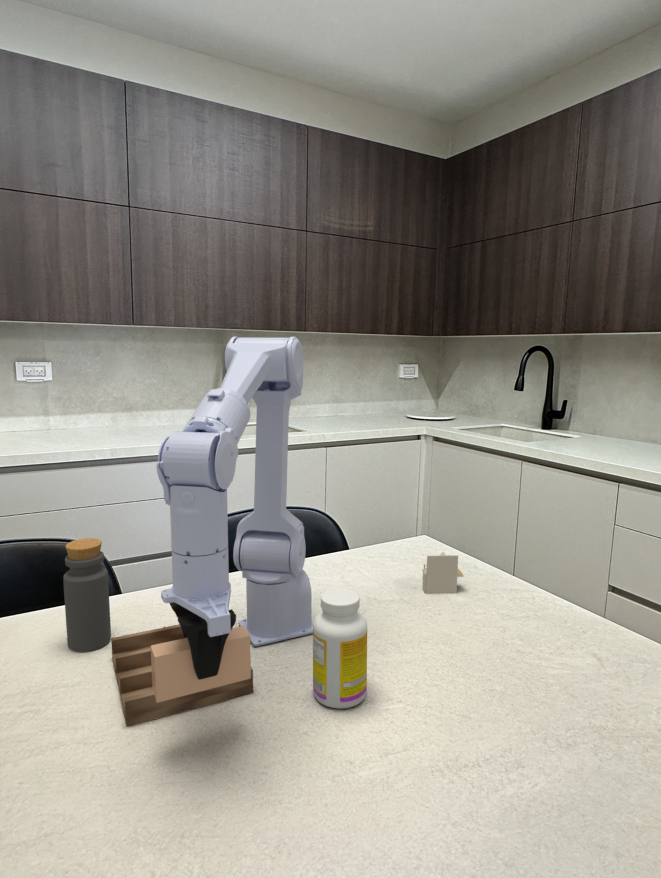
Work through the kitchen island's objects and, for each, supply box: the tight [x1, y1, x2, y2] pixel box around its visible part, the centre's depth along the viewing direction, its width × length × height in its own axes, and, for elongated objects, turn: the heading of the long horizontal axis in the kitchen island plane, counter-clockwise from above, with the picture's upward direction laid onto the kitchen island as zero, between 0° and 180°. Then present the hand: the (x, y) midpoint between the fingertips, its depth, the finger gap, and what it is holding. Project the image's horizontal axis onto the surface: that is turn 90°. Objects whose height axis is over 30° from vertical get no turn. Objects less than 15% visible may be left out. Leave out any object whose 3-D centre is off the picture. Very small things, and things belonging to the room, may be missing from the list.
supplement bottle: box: [312, 588, 368, 709], centre depth 69 cm, size 7×7×13 cm
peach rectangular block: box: [151, 626, 252, 703], centre depth 60 cm, size 10×2×5 cm, turn 116°
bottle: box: [62, 537, 112, 653], centre depth 80 cm, size 6×6×15 cm
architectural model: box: [422, 551, 465, 595], centre depth 101 cm, size 3×7×7 cm, turn 94°
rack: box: [110, 623, 254, 727], centre depth 73 cm, size 15×16×3 cm
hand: (203, 668), depth 60 cm, fingers closed on peach rectangular block, 2 cm apart
